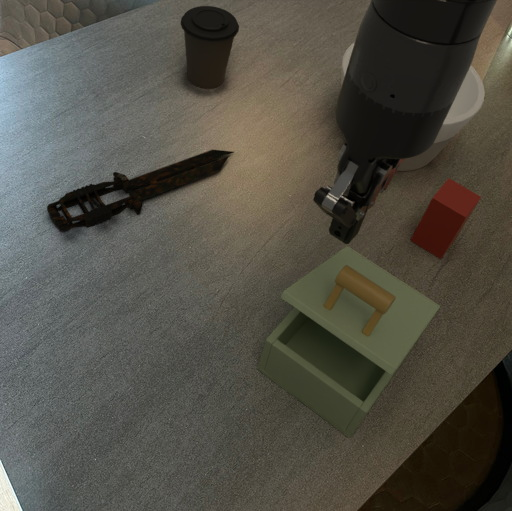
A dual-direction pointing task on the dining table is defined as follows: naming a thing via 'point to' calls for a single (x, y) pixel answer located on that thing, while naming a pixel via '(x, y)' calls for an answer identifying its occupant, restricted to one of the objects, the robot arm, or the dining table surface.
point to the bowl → (456, 119)
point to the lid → (363, 307)
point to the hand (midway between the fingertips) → (342, 234)
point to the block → (445, 218)
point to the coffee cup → (208, 44)
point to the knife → (128, 185)
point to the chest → (323, 371)
